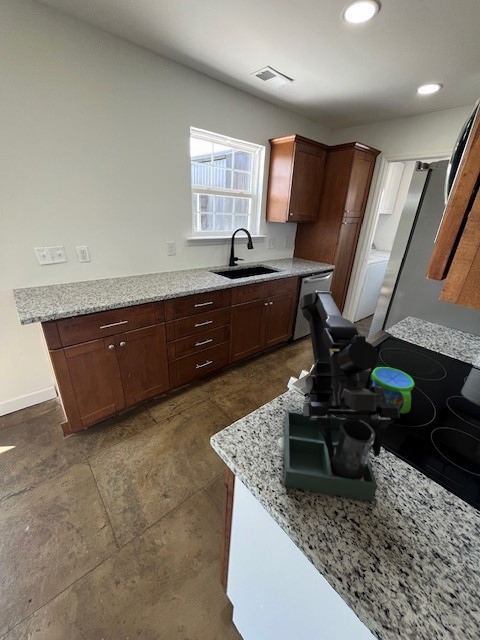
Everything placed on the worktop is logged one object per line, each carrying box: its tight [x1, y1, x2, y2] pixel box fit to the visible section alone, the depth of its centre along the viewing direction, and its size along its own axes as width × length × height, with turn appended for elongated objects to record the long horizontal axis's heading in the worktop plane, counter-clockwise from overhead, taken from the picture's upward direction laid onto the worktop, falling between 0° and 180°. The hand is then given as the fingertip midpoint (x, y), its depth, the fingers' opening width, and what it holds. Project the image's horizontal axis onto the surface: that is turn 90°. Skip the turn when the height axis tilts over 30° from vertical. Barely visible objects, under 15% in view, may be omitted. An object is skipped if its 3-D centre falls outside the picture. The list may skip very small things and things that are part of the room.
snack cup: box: [370, 366, 416, 414], centre depth 78 cm, size 16×10×10 cm
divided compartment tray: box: [283, 409, 378, 502], centre depth 62 cm, size 18×18×5 cm
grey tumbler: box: [330, 417, 375, 481], centre depth 55 cm, size 6×6×13 cm
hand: (354, 455), depth 54 cm, fingers open, 9 cm apart
